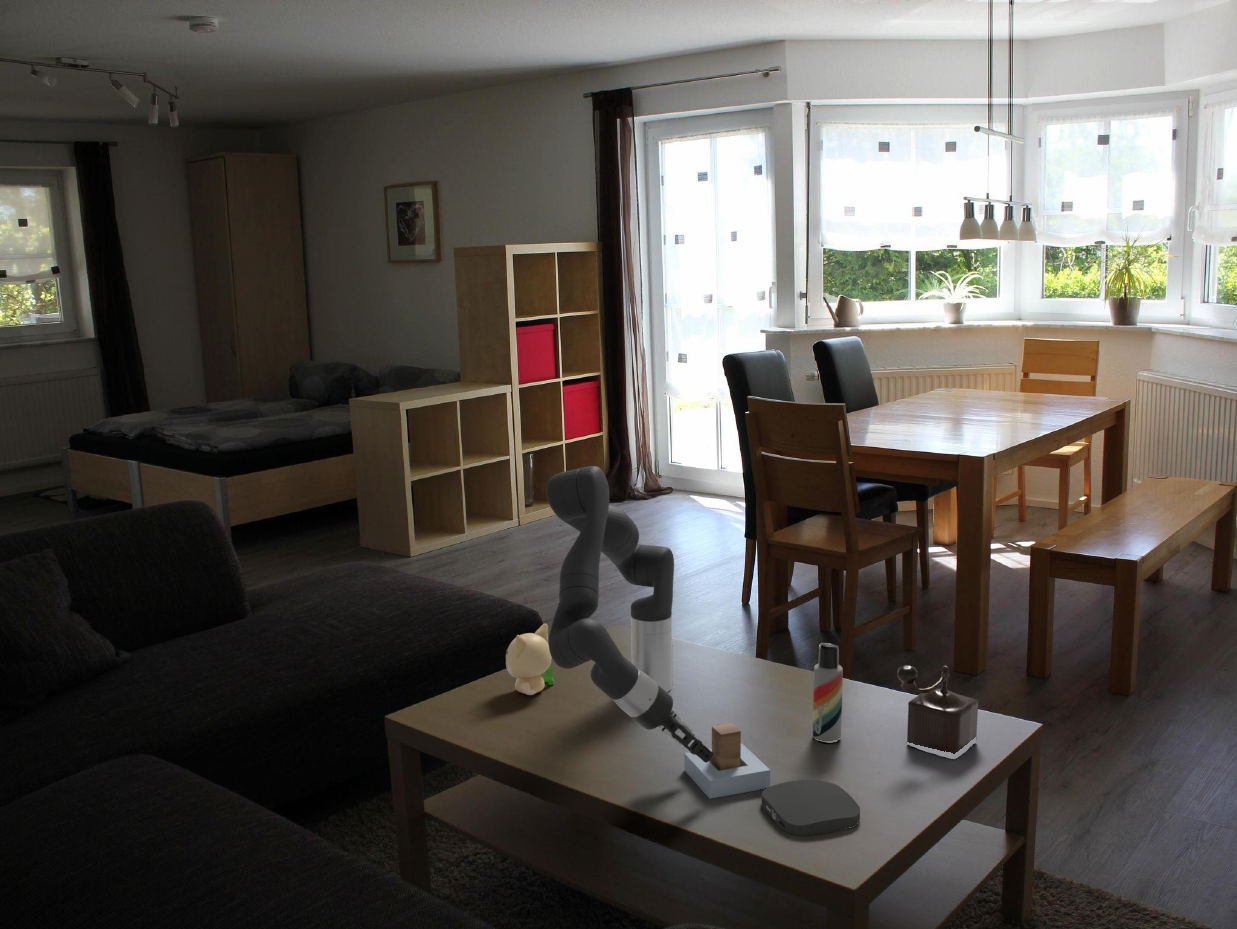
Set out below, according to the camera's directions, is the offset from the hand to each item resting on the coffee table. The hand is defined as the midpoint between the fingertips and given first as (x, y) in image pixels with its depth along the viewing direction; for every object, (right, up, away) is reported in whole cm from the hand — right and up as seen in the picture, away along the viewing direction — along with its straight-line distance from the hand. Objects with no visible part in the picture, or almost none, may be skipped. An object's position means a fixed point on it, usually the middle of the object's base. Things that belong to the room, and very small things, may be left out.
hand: (700, 748), depth 196 cm
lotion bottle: (+27, -3, +20) cm, 34 cm away
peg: (+5, -7, +3) cm, 9 cm away
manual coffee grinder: (+47, -4, +15) cm, 50 cm away
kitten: (-35, +1, +47) cm, 58 cm away
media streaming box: (+19, -9, -9) cm, 23 cm away
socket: (+5, -6, +3) cm, 9 cm away
